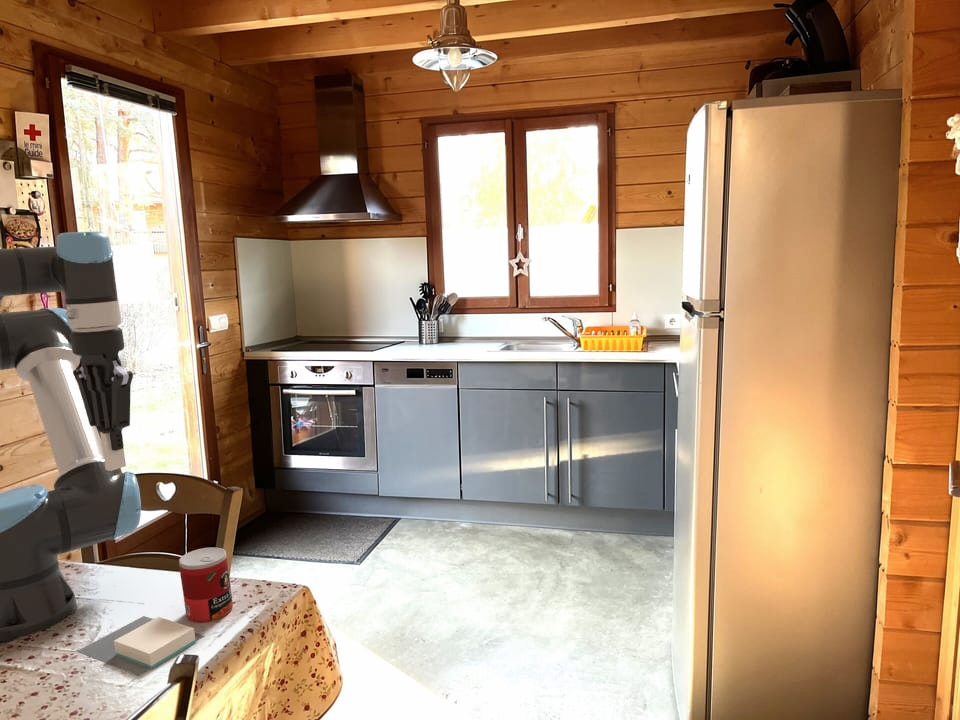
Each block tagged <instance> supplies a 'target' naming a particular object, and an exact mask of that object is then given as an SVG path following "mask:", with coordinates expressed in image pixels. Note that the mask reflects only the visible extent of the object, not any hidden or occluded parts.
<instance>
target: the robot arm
mask: <svg viewBox="0 0 960 720" xmlns="http://www.w3.org/2000/svg"><path fill="white" fill-rule="evenodd" d="M113 257H114V251H113V249H112V246H111V242H110V238H109V236H108V234H107V233H106V232H104V231H77V232H75V231H74V232H62V233H59V234H58V235H57V236H56V246H38V247H19V248H17V247H14V248H0V307H1V306H2V303H3V300H4V297H9V296H21V295H31V294H34V295H35V294H46V293H59V292H60V293H62V292H63V295H64V301H65V302H64V304H65V305H66V306H65V307H66V309H64V308H61V307H56V308H54V307H53V308H52V307H51V308H48V307H43V308H39V309H34V310H33V309H32V310H19V311H18V310H17V311H9V312H7V311H6V312H0V371H4V370H12V369H15V372H16V375H17V376H18V377H19V378H20V379H21V380H23V381H26V382H29V386H30V389H31V392H32V395H33V398H34V401H35V404H36V408H37V409H38V413H39V416H40V418H41V422H42V425H43V429H44V431H45V434H46V437H47V440H48V443H49V447H50V451H51V452H52V455H53V459H54V462H55V465H56V468H57V470H58V474H59V475H58V476H57V477H56V478H55V479H54V481H53V490H49V491H48V489H47V488H46V486H44V485H42V484H32V485H31V484H30V485H28V486H24V485H23V486H20V487H16V488H13V489H10V490H6V491H3V492H1V493H0V641H6V642H12V641H15V640H17V639H19V638H22V637H27V636H30V635H33V634H36V633H39V632H41V631H44V630H47V629H50V628H51V627H53V626H55V625H57V624H59V623H61V622H62V621H64V620H65V619H68V617H69V616H71V614H73V613H75V612H76V611H77V607H78V606H77V598H76V594H75V592H74V590H73V589H72V587H71V585H70V584H69V582H68V581H67V579H66V577H65V576H64V574H63V573H62V571H61V569H60V564H59V559H58V556H59V555H63V554H65V553H70V552H73V551H77V550H79V549H84V548H88V547H90V546H93V545H96V544H101V543H104V542H107V541H110V540H116V539H117V538H120V537H123V536H125V535H128V534H131V533H133V532H134V531H135V530H137V528H138V526H139V525H140V521H141V515H142V510H141V509H142V505H141V504H142V501H141V494H140V493H141V492H140V486H139V482H138V479H137V476H136V475H135V473H134V472H132V471H124V472H123V471H122V469H121V468H124V467H127V462H126V457H125V450H124V439H123V433H122V431H123V429H124V428H126V427H129V426H130V425H131V390H132V389H131V386H132V381H133V378H134V373H133V372H132V371H131V370H129V371H125V369H124V368H123V367H122V361H121V358H120V355H119V353H120V352H121V351H123V350H124V349H125V340H124V339H125V338H124V335H123V329H121V327H119V326H120V325H121V324H122V317H121V310H120V302H119V297H118V289H117V281H116V275H115V266H114V259H113ZM79 365H81V366H80V368H78V367H79ZM77 368H78V369H77Z"/></svg>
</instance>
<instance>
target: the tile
mask: <svg viewBox="0 0 960 720" xmlns="http://www.w3.org/2000/svg"><path fill="white" fill-rule="evenodd" d="M152 619H153V620H151V621H150V622H148V623H146V624H144V625H142V626H140V627H138V628H137V629H135V630H133V631H131V632H129V633H127V634H125V635H124V636H122V637H120V638H118V639H116V640H114V645H115V651H116V655H117V656H119V657H122V658H125V659H127V660H130V661H133V662H135V663H138V664H140V665H143V666H146V667H148V668H151V669H152V670H153V669H154V668H157V666H160V665H161V664H163V663H164V662H166V661H167V660H170V659H171V658H173V657H174V656H177V655H178V654H179V653H181V652H183V651H184V650H186V649H188V648H189V647H190V646H193V645H194V644H195V643H197V641H196V640H195V633H196V632H195V627H192V626H188V625H185V624H182V623H179V622H177V621H176V622H175V621H173V620H170V619H167V618H164V617H160V616H157V617H155V618H152ZM151 669H150V670H151Z"/></svg>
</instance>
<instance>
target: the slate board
mask: <svg viewBox="0 0 960 720" xmlns="http://www.w3.org/2000/svg"><path fill="white" fill-rule="evenodd" d="M153 619H154V618H152V617H148V616H145V615H143V616H141V617H139V618H137V619H135V620H132V622H129V623H127V624H125V625H124V626H122V627H120V628H117V629H116V630H114V631H113V632H111V633H108V634H107V635H105V636H103V637H101V638H99V639H97V640H95V641H94V642H90V643H89V644H88V645H86V646H84V647H82V648H80V649H78V650H76V652H77V653H80V654H82V655H85V656H88V657H91V658H92V659H96V660H98V661H100V662H103V663H105V664H108V665H111V666H113V667H116V668H118V669H121V670H122V671H126V672H129V674H130V673H131V674H133V675H136V676H138V677H139V676H141V675H143V674H145V673H146V672H148V671H149V670H151V668H148V667H146V666H143V665H140V664H138V663H135V662H133V661H130V660H127V659H125V658H122V657H119V656H117V655H116V651H115V645H114V640H116V639H118V638H120V637H122V636H124V635H125V634H127V633H129V632H131V631H133V630H135V629H137V628H138V627H140V626H142V625H144V624H146V623H148V622H150V621H151V620H153ZM203 638H205V635H203V634H201V633H197V632H195V640H196V642H197V641H199V640H200V639H203Z"/></svg>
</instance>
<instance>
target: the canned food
mask: <svg viewBox="0 0 960 720" xmlns="http://www.w3.org/2000/svg"><path fill="white" fill-rule="evenodd" d="M178 562H179V563H178V565H179V573H180V581H181V588H182V595H183V604H184V608H185V616H186V618H187V620H188V621H190V622H192V623H195V624H196V623H197V624H202V623H203V624H204V623H211V622H215V621H218V620H220V619H222V618H224V617H226V616H228V615H229V614H230V613H231V612H232V610H233V607H234V604H233V594H232V588H231V578H230V571H229V562H228V555H227V552H226V549H224V548H221V547H216V546H215V547H210V546H209V547H203V548H198V549H195V550H192V551H189V552H187V553H185V554H183V555H182V556H181V557H179V559H178Z"/></svg>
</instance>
